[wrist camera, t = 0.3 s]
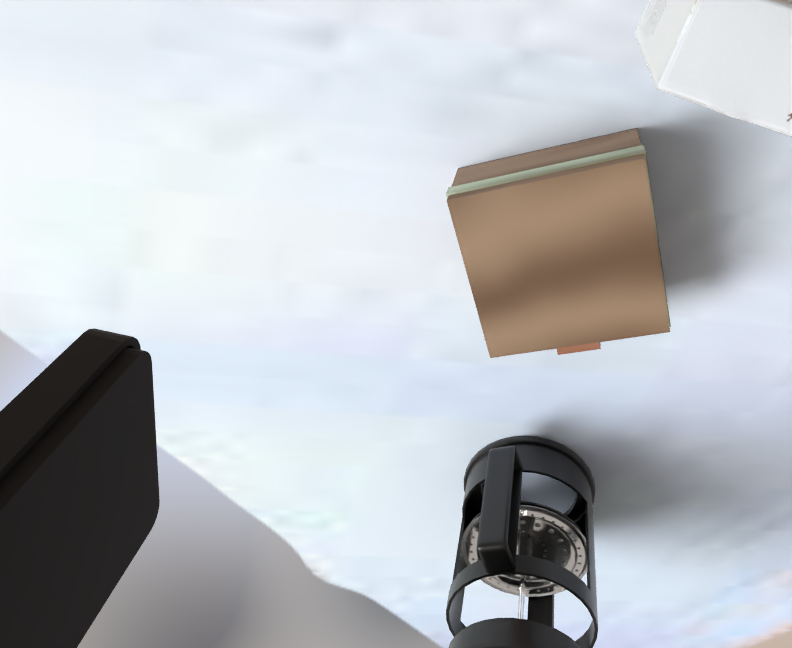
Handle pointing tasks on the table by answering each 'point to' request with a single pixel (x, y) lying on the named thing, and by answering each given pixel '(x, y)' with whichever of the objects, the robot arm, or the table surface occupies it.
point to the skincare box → (723, 56)
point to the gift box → (562, 246)
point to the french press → (524, 545)
